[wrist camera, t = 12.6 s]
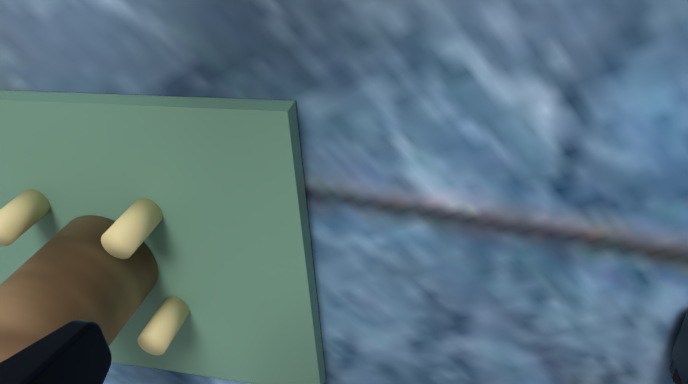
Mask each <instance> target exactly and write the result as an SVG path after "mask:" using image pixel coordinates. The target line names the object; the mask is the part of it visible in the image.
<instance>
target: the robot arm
mask: <svg viewBox="0 0 688 384" xmlns="http://www.w3.org/2000/svg"><path fill="white" fill-rule="evenodd" d="M672 357H673V362H672V365H671V368H670V373H671V376H672V379H673V381H674V382H675V383H677V384H688V311H687V313H686V316H685V318H684V321H683V323H682V326H681V329H680V331H679V334H678V337H677V339H676V342H675V345H674V347H673V350H672ZM111 360H112V355H111V351H110V348H109V346H108V344H107V341H106V339H105V336H104V334H103V331H102V329H101V327H100V325H99V324H98V323H96V322H94V321H87V320H73V321H70V322H68V323H67V324H65V325H63V326H62V327H60V328H58V329H57V330H55V331H53V332H51V333H50V334H48V335H46V336H45V337H43V338H41V339H40V340H38V341H36V342H34V343H33V344H31V345H29V346H28V347H26V348H24V349H23V350H21V351H19V352H18V353H16V354H14V355H12V356H11V357H9V358H7V359H6V360H4V361H2V362H1V363H0V384H103V382H104V380H105V377H106V375H107V373H108V371H109V368H110V365H111Z"/></svg>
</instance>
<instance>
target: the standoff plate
mask: <svg viewBox="0 0 688 384" xmlns="http://www.w3.org/2000/svg"><path fill="white" fill-rule="evenodd" d="M85 215H95V216H102V217H105V218H109V219H111V220H114V221H115V223H114V224H113V225H112V226H111V227H110V228H109V229H108V230H107V231H106V232H105V233H104V234H103V235H102V237H101V243H102V246H103V248H104V249H105V250H106V251H107V252H108V253H109V254H110V255H112V256H114V257H116V258H119V259H127V258H129V257H131V255H132V254H133V253H134V252H135V251H136V250H137V248H138V247H139V246H140V245H141V244H142V243H143V241H144V243H145V244H146V245H147V246H148V248H149V249H150V251H151V252H152V254H153V256H154V258H155V261H156V263H157V268H158V279H157V282H156V284H155V286H154V287H153V289H152V290H151V291H150V293H149V294H148V295H147V297H146V298H145V299H144V300H143V302H142V303H141V304H140V306H139V307H138V308H137V310H136V311H135V312H134V314H133V315H132V316H131V318H130V319H129V320H128V322H127V323H126V324H125V326H124V327H123V328H122V330H121V331H120V332H119V334H118V335H117V336H116V338H115V339H114V340H113V342H112V343H111V344H110V345H109V348H110V351H111V355H112V360H111V362H115V363H122V364H128V365H135V366H141V367H148V368H155V369H161V370H168V371H174V372H181V373H187V374H194V375H200V376H207V377H213V378H220V379H226V380H233V381H239V382H246V383H253V384H325V380H326V374H325V365H324V356H323V347H322V337H321V328H320V319H319V310H318V301H317V292H316V283H315V274H314V265H313V256H312V247H311V238H310V229H309V220H308V211H307V202H306V193H305V184H304V175H303V166H302V157H301V148H300V138H299V129H298V120H297V111H296V102H295V101H288V100H260V99H231V98H203V97H175V96H146V95H118V94H90V93H62V92H33V91H5V90H0V285H1V284H2V283H3V282H4V281H5V280H6V279H7V278H8V277H10V276H11V275H12V274H13V273H14V272H15V271H16V270H17V269H18V268H19V267H21V266H22V265H23V264H24V263H25V262H26V261H27V260H28V259H29V258H30V257H32V256H33V255H34V254H35V253H36V252H37V251H38V250H39V249H40V248H41V247H43V246H44V245H45V244H46V243H47V242H48V241H49V240H50V239H51V238H52V237H54V236H55V235H56V234H57V233H58V232H59V231H60V230H61V229H62V228H63V227H65V226H66V225H67V224H68V223H69V222H70V221H71V220H73V219H75V218H77V217H80V216H85Z"/></svg>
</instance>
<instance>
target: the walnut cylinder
mask: <svg viewBox="0 0 688 384" xmlns="http://www.w3.org/2000/svg"><path fill="white" fill-rule="evenodd" d="M114 223H115V221H114V220H111V219H109V218H105V217H102V216H95V215H85V216H80V217H77V218H75V219H73V220H71V221H70V222H69V223H68V224H67V225H66V226H65V227H63V228H62V229H61V230H60V231H59V232H58V233H57V234H56V235H55V236H54V237H52V238H51V239H50V240H49V241H48V242H47V243H46V244H45V245H44V246H43V247H41V248H40V249H39V250H38V251H37V252H36V253H35V254H34V255H33V256H32V257H30V258H29V259H28V260H27V261H26V262H25V263H24V264H23V265H22V266H21V267H19V268H18V269H17V270H16V271H15V272H14V273H13V274H12V275H11V276H10V277H8V278H7V279H6V280H5V281H4V282H3V283H2V284H1V285H0V363H1V362H2V361H4V360H6V359H7V358H9V357H11V356H12V355H14V354H16V353H18V352H19V351H21V350H23V349H24V348H26V347H28V346H29V345H31V344H33V343H34V342H36V341H38V340H40V339H41V338H43V337H45V336H46V335H48V334H50V333H51V332H53V331H55V330H57V329H58V328H60V327H62V326H63V325H65V324H67V323H68V322H70V321H73V320H87V321H94V322H96V323H98V324H99V325H100V327H101V329H102V331H103V334H104V336H105V339H106V341H107V344H108V346H109V345H110V344H111V343H112V342H113V340H114V339H115V338H116V336H117V335H118V334H119V332H120V331H121V330H122V328H123V327H124V326H125V324H126V323H127V322H128V320H129V319H130V318H131V316H132V315H133V314H134V312H135V311H136V310H137V308H138V307H139V306H140V304H141V303H142V302H143V300H144V299H145V298H146V297H147V295H148V294H149V293H150V291H151V290H152V289H153V287H154V286H155V284H156V282H157V279H158V268H157V263H156V261H155V258H154V256H153V254H152V252H151V251H150V249H149V248H148V246H147V245H146V244H145V243H144V241H143V243H142V244H141V245H140V246H139V247H138V248H137V250H136V251H135V252H134V253H133V254H132V255H131V257H129V258H127V259H119V258H116V257H114V256H112V255H110V254H109V253H108V252H107V251H106V250H105V249H104V248H103V246H102V243H101V237H102V235H103V234H104V233H105V232H106V231H107V230H108V229H109V228H110V227H111V226H112V225H113V224H114Z"/></svg>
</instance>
